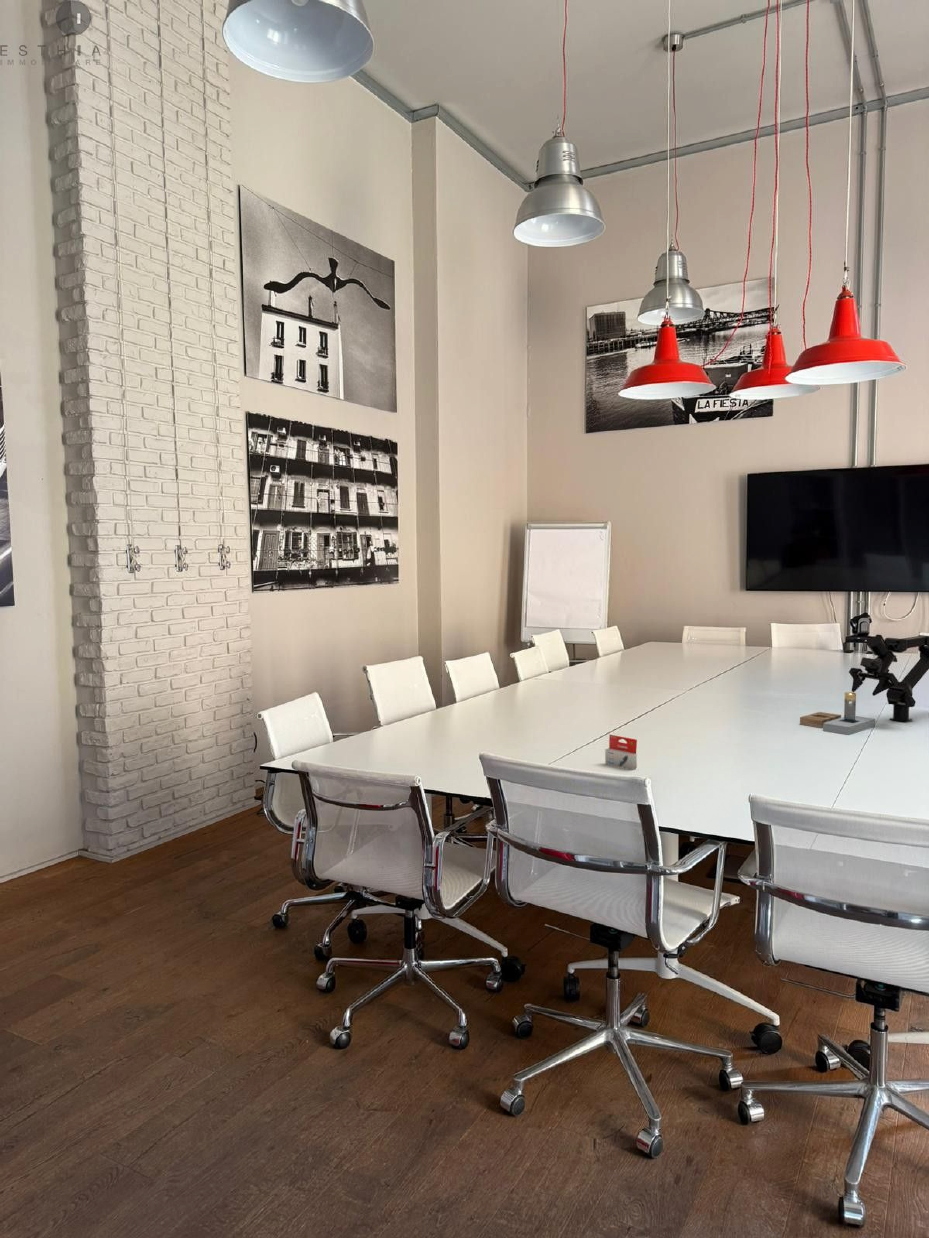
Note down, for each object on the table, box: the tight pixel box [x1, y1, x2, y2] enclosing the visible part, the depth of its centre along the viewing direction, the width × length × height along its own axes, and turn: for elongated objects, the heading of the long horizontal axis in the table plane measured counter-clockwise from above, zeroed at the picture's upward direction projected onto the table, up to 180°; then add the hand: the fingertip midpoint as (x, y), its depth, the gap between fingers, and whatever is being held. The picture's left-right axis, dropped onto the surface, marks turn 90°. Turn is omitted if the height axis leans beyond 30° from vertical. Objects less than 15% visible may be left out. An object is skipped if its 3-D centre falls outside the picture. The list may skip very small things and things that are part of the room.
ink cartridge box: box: [604, 734, 638, 771], centre depth 269 cm, size 2×11×10 cm, turn 44°
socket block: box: [799, 711, 842, 729], centre depth 330 cm, size 16×9×3 cm, turn 130°
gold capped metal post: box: [843, 691, 857, 723], centre depth 320 cm, size 4×4×14 cm
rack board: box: [822, 715, 876, 736], centre depth 321 cm, size 22×10×3 cm, turn 130°
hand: (862, 693), depth 323 cm, fingers open, 9 cm apart
